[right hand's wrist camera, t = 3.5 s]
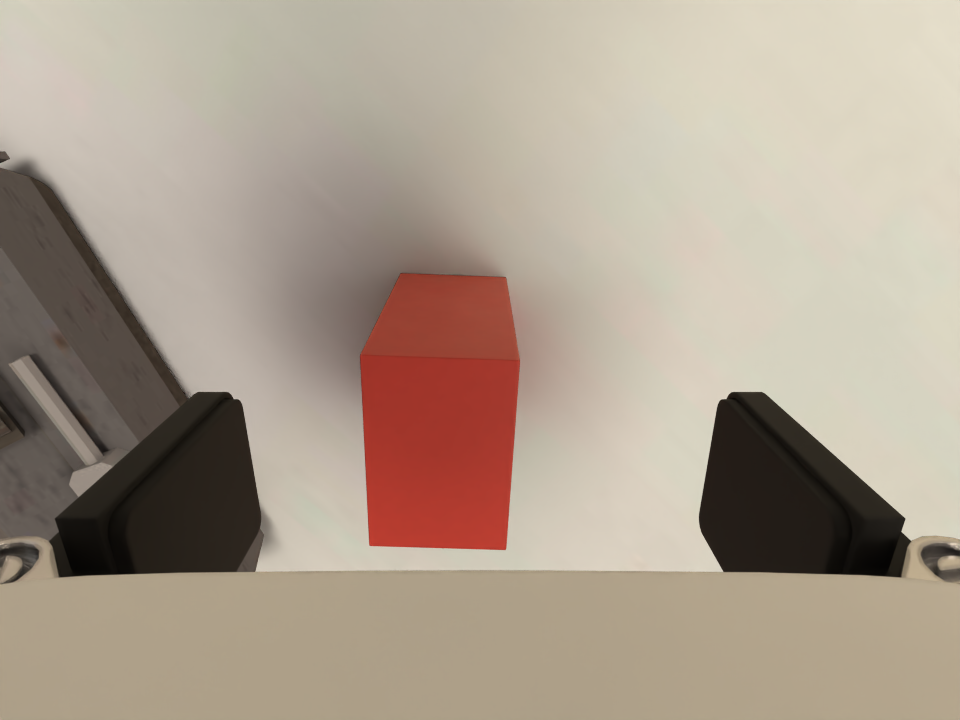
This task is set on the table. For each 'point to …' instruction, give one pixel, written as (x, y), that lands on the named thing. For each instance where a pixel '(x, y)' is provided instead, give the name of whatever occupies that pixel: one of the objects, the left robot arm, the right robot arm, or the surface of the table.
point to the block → (440, 413)
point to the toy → (66, 366)
